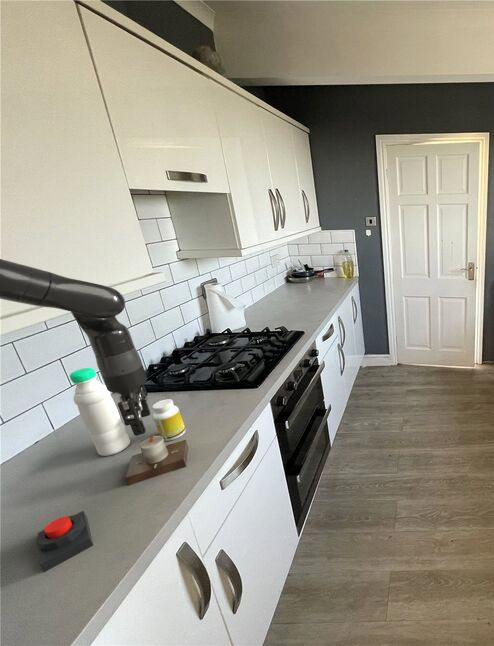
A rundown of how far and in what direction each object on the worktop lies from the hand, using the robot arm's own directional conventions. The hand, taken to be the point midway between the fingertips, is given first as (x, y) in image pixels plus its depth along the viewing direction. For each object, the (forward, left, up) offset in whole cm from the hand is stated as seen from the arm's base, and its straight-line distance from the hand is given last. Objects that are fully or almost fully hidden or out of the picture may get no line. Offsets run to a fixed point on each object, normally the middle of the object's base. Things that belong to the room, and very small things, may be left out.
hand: (143, 424), depth 88 cm
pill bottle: (+2, +13, -13) cm, 18 cm away
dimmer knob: (0, 0, -10) cm, 10 cm away
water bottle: (-12, +15, -13) cm, 23 cm away
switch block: (-14, -17, -13) cm, 26 cm away
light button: (-14, -17, -9) cm, 24 cm away
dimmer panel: (0, 0, -13) cm, 13 cm away
